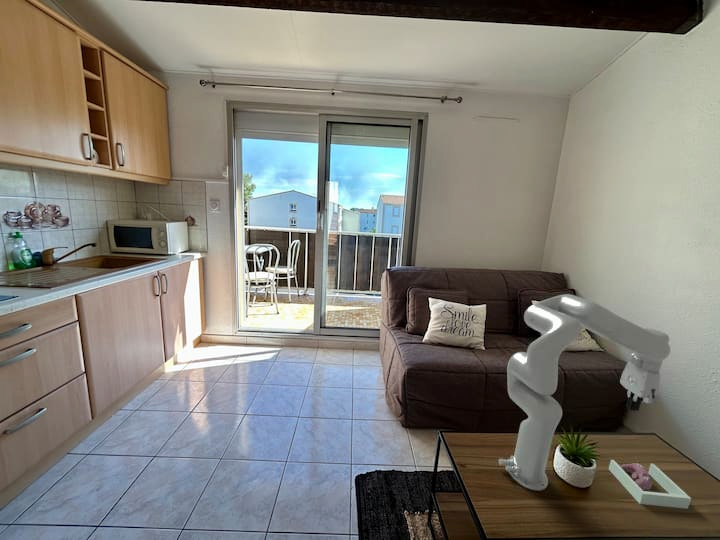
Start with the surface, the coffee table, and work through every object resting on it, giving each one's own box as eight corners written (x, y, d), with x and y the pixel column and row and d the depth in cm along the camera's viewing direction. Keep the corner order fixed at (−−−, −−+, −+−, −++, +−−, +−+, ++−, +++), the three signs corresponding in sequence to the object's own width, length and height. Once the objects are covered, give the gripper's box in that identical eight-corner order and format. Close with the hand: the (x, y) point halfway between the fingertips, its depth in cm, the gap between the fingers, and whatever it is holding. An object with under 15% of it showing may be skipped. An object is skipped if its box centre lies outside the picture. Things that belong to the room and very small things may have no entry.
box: (639, 503, 95) (642, 493, 94) (608, 468, 107) (611, 459, 106) (687, 508, 94) (691, 498, 93) (650, 473, 107) (653, 463, 106)
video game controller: (641, 498, 98) (658, 487, 96) (627, 487, 100) (644, 476, 97) (630, 475, 107) (646, 465, 104) (618, 466, 108) (633, 455, 106)
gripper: (617, 352, 111) (605, 395, 115) (654, 374, 97) (639, 422, 100) (638, 354, 111) (625, 397, 115) (677, 376, 96) (661, 424, 100)
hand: (632, 408), depth 107 cm, fingers closed
